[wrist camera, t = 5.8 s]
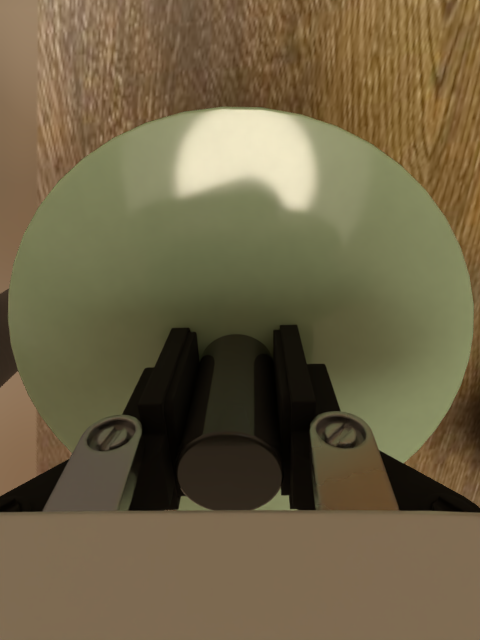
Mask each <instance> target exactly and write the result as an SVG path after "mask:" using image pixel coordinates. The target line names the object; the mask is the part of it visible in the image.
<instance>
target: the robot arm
mask: <svg viewBox="0 0 480 640" xmlns="http://www.w3.org/2000/svg"><path fill="white" fill-rule="evenodd" d="M273 359H274V372H275V382H276V393H277V404H278V414H279V425H280V435H281V446H282V451H283V461H284V472H285V474H284V480H283V484H282V486H281V496H287V495H289V503H290V509H298V510H192V511H164V510H178V509H179V504H180V499H181V496H186V495H185V494H184V493H183V492H182V490H181V489H180V487H179V485H178V483H177V480H176V477H175V470H174V468H175V461H176V457H177V453H178V449H179V445H180V441H181V437H182V432H183V428H184V424H185V420H186V416H187V412H188V408H189V404H190V400H191V396H192V392H193V388H194V383H195V379H196V375H197V371H198V367H199V363H200V361H199V351H198V342H197V334H196V332H191V331H190V328H172V329H171V331H170V333H169V335H168V337H167V340H166V342H165V344H164V346H163V349H162V351H161V353H160V355H159V358H158V360H157V362H156V364H155V367H149V368H145V369H144V370H143V372H142V374H141V376H140V379H139V381H138V383H137V385H136V387H135V389H134V391H133V393H132V395H131V397H130V399H129V401H128V403H127V405H126V407H125V409H124V411H123V413H122V415H113V416H109V417H106V418H103V419H101V420H99V421H97V422H95V423H93V424H92V425H91V426H90V427H88V428H87V429H86V430H85V432H84V433H83V434H82V436H81V438H80V440H79V442H78V444H77V445H76V447H75V449H74V451H73V453H72V455H71V457H70V459H68V460H67V461H65V462H63V463H61V464H59V465H57V466H55V467H54V468H52V469H50V470H48V471H46V472H44V473H43V474H41V475H39V476H37V477H35V478H33V479H31V480H30V481H28V482H26V483H24V484H22V485H20V486H18V487H17V488H15V489H13V490H11V491H9V492H7V493H6V494H4V495H2V496H0V640H480V508H479V507H478V506H477V505H476V504H474V503H473V502H471V501H470V500H468V499H467V498H465V497H464V496H462V495H460V494H458V493H456V492H455V491H453V490H451V489H449V488H447V487H445V486H444V485H442V484H440V483H438V482H436V481H435V480H433V479H431V478H429V477H427V476H425V475H424V474H422V473H420V472H418V471H416V470H414V469H413V468H411V467H409V466H407V465H405V464H404V463H402V462H400V461H398V460H396V459H394V458H393V457H391V456H389V455H387V454H385V453H384V452H382V451H380V450H379V449H378V446H377V443H376V440H375V438H374V435H373V432H372V430H371V428H370V426H369V425H368V424H367V423H366V422H365V421H364V420H363V419H361V418H359V417H357V416H356V415H353V414H350V413H347V412H341V410H340V407H339V404H338V401H337V398H336V395H335V392H334V389H333V386H332V383H331V380H330V377H329V374H328V371H327V368H326V365H325V364H307V363H306V359H305V354H304V350H303V346H302V342H301V338H300V334H299V330H298V326H297V325H280V330H273Z"/></svg>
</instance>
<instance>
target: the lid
mask: <svg viewBox="0 0 480 640" xmlns="http://www.w3.org/2000/svg"><path fill="white" fill-rule="evenodd" d="M473 319H474V304H473V297H472V290H471V283H470V276H469V273H468V269H467V266H466V263H465V260H464V257H463V254H462V250H461V247H460V245H459V243H458V241H457V239H456V237H455V235H454V233H453V231H452V229H451V227H450V225H449V223H448V221H447V219H446V217H445V216H444V214H443V213H442V211H441V210H440V209H439V207H438V206H437V205H436V203H435V202H434V200H433V199H432V198H431V196H430V195H429V194H428V192H427V191H426V190H425V189H424V188H423V187H422V186H421V185H420V184H419V183H418V182H417V181H416V180H415V179H414V178H413V177H412V176H411V175H410V174H409V173H408V172H407V171H406V170H405V169H404V168H403V167H402V166H401V165H400V164H399V163H397V162H396V161H395V160H393V159H392V158H391V157H389V156H388V155H386V154H385V153H384V152H382V151H381V150H380V149H378V148H377V147H375V146H374V145H373V144H371V143H369V142H367V141H365V140H363V139H361V138H360V137H358V136H356V135H354V134H352V133H350V132H348V131H346V130H344V129H342V128H340V127H338V126H335V125H332V124H329V123H326V122H323V121H320V120H317V119H314V118H311V117H308V116H305V115H302V114H298V113H292V112H286V111H280V110H274V109H269V108H263V107H215V108H207V109H200V110H192V111H185V112H181V113H177V114H174V115H170V116H167V117H163V118H160V119H156V120H153V121H150V122H146V123H144V124H142V125H140V126H138V127H136V128H134V129H131V130H129V131H127V132H125V133H123V134H121V135H118V136H116V137H114V138H112V139H111V140H109V141H108V142H106V143H105V144H104V145H102V146H101V147H99V148H98V149H96V150H95V151H93V152H92V153H90V154H89V155H87V156H86V157H84V158H83V159H82V160H81V161H80V162H79V163H78V164H77V165H75V166H74V167H73V168H72V169H71V170H70V171H69V172H68V173H67V174H66V175H65V176H64V177H63V178H62V179H60V180H59V181H58V183H57V184H56V185H55V187H54V188H53V189H52V190H51V192H50V193H49V194H48V196H47V197H46V198H45V199H44V201H43V202H42V203H41V205H40V206H39V207H38V209H37V211H36V213H35V215H34V217H33V218H32V220H31V222H30V224H29V226H28V227H27V229H26V231H25V233H24V235H23V238H22V241H21V244H20V247H19V249H18V252H17V255H16V258H15V261H14V264H13V270H12V275H11V281H10V286H9V296H8V324H9V332H10V340H11V346H12V350H13V354H14V358H15V361H16V365H17V369H18V372H19V374H20V376H21V379H22V381H23V384H24V386H25V388H26V390H27V393H28V395H29V397H30V398H31V400H32V402H33V404H34V405H35V407H36V409H37V411H38V412H39V414H40V416H41V417H42V418H43V420H44V421H45V422H46V424H47V425H48V426H49V428H50V429H51V430H52V432H53V433H54V434H55V436H56V437H57V438H58V439H59V440H60V441H61V442H62V443H63V444H64V445H65V446H66V447H67V448H68V449H69V450H70V451H71V452H72V453H73V451H74V449H75V447H76V445H77V444H78V442H79V440H80V438H81V436H82V434H83V433H84V432H85V430H86V429H87V428H88V427H90V426H91V425H92V424H93V423H95V422H97V421H99V420H101V419H103V418H106V417H109V416H113V415H122V413H123V411H124V409H125V407H126V405H127V403H128V401H129V399H130V397H131V395H132V393H133V391H134V389H135V387H136V385H137V383H138V381H139V379H140V376H141V374H142V372H143V370H144V369H145V368H149V367H155V364H156V362H157V360H158V358H159V355H160V353H161V351H162V349H163V346H164V344H165V342H166V340H167V337H168V335H169V333H170V331H171V329H172V328H190V331H191V332H196V334H197V342H198V351H199V361H200V363H199V367H198V371H197V375H196V379H195V383H194V388H193V392H192V396H191V400H190V404H189V408H188V412H187V416H186V420H185V424H184V428H183V432H182V437H181V441H180V445H179V449H178V453H177V457H176V461H175V468H174V470H175V477H176V480H177V483H178V485H179V487H180V489H181V490H182V492H183V493H184V494H185V495H186V496H181V499H180V504H179V509H178V510H176V511H192V510H298V509H290V503H289V495H287V496H281V486H282V484H283V480H284V474H285V472H284V461H283V451H282V446H281V435H280V425H279V414H278V404H277V393H276V382H275V372H274V359H273V330H280V325H297V326H298V330H299V334H300V338H301V342H302V346H303V350H304V354H305V359H306V363H307V364H325V365H326V368H327V371H328V374H329V377H330V380H331V383H332V386H333V389H334V392H335V395H336V398H337V401H338V404H339V407H340V410H341V412H347V413H350V414H353V415H356V416H357V417H359V418H361V419H363V420H364V421H365V422H366V423H367V424H368V425H369V426H370V428H371V430H372V432H373V435H374V438H375V440H376V443H377V446H378V449H379V450H380V451H382V452H384V453H385V454H387V455H389V456H391V457H393V458H394V459H396V460H398V461H400V462H402V463H405V462H406V461H407V460H408V459H409V458H410V457H411V456H412V455H413V454H414V453H415V452H417V451H418V450H419V449H420V447H421V446H422V445H423V444H424V443H425V442H426V440H427V439H428V438H429V437H430V436H431V435H432V433H433V432H434V431H435V430H436V428H437V427H438V425H439V424H440V422H441V421H442V419H443V418H444V416H445V415H446V413H447V412H448V410H449V409H450V407H451V405H452V402H453V400H454V398H455V396H456V394H457V392H458V390H459V388H460V386H461V383H462V380H463V377H464V374H465V371H466V368H467V364H468V361H469V356H470V350H471V344H472V338H473Z"/></svg>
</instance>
